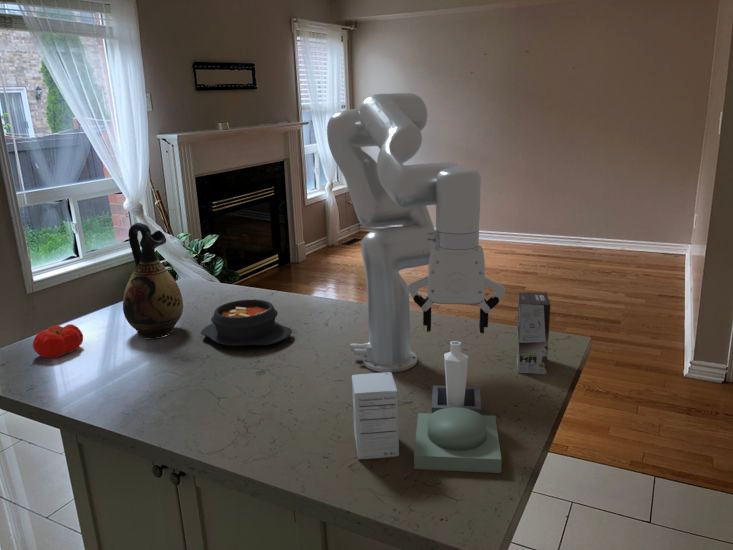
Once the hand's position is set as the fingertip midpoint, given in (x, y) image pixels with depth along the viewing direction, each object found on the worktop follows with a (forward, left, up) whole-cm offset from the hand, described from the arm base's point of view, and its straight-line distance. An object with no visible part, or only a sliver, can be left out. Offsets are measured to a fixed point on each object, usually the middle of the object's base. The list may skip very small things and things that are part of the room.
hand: (455, 329), depth 110 cm
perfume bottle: (0, 0, -18) cm, 18 cm away
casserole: (-54, +37, -18) cm, 67 cm away
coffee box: (+17, +24, -18) cm, 34 cm away
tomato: (-99, +25, -18) cm, 103 cm away
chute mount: (0, -7, -17) cm, 19 cm away
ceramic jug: (-81, +40, -18) cm, 92 cm away
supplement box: (-14, -12, -18) cm, 26 cm away
